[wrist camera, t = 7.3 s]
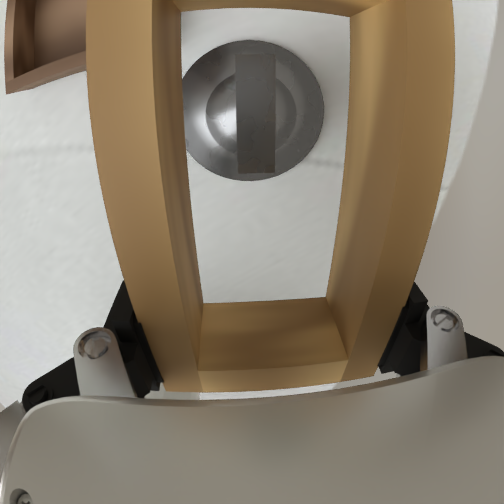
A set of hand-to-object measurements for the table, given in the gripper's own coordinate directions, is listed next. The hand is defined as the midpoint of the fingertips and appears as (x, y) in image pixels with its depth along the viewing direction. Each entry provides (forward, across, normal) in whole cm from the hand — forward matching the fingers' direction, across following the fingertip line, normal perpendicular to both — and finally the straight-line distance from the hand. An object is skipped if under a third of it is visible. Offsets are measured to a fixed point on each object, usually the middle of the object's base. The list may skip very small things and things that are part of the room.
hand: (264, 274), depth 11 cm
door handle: (+14, 0, -5) cm, 14 cm away
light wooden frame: (-1, 0, -4) cm, 4 cm away
